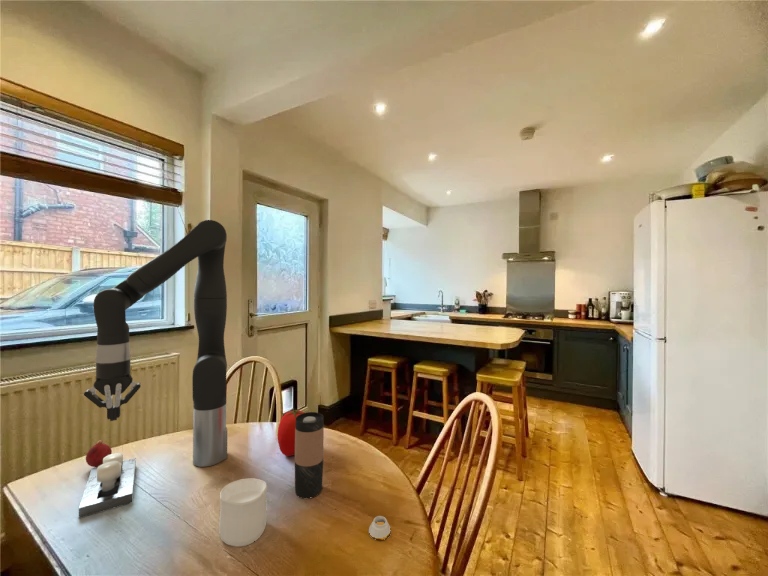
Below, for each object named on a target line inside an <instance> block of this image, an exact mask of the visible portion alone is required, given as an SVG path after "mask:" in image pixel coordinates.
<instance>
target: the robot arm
mask: <svg viewBox="0 0 768 576" xmlns="http://www.w3.org/2000/svg"><path fill="white" fill-rule="evenodd" d="M227 238H228V236H227V231H226V228H225V226H223V224H221V223H220V222H218V221H216V220H213V219H206V220H203V221H199V222H198V223H197V224H196V225H195V227H193V228H192V229H191V230H190V231H189V232H188V233H186V235H185V236H184V237H182V238H181V239H180V240H179V241H178V242H176V243H175V244H174V245H173V246H171V247H170V248H168V249H166V250H165V251H163V252H162V253H160V254H159V255H157V256H156V257H154V258H153V259H151V260H149V261H147V262H146V263H145V264H143V265H141V266H140V267H138V268H136V270H133V272H131V273H130V274H128V276H127V277H126V278H125V279H124V280H123V281H121V282H120V283H119V284H117V285H115V286H113V287H112V288H105V289H103V290H101V291H99V292H98V293H97V294H96V295H95V297H94V299H93V315H94V319H95V323H96V327H97V331H96V334H97V335H96V349H95V350H96V352H95V359H94V360H95V381H94V382H93V386H91V387H90V388H87V389H86V390H85V391H84V393H83V396H84V397H86V399H88V400H89V401H90V402H92V403H93V404H94V405H95V406H97V407H98V408H100V409H101V408H105V409H106V419H107V420H109V421H110V422H113V421H117V420H118V419H119V418H120V416H121V407H122V405H125V404H127V403H129V401H130V400H131V399H132V398H133V396H134V395H135V394H136V393H137V392H138V391H139V389H140V388H141V387H142V384H141V382H136V381H134V380H133V377H132V376H131V375H132V374H131V357H132V355H131V345H130V344H131V343H130V326H129V324H128V322H127V316H126V310H127V309H129V308H131V307H132V306H133V305H134V304H136V303H137V302H138V301H140V300H141V299H142V298H143V297H144V296H145V295H147V294H149V293H151V292H152V291H154V290H155V289H156V288H158V287H160V286H161V285H162V284H164V283H165V282H167V281H169V280H170V279H171V278H172V277H173V276H174V275H176V274H177V272H179V271H180V270H181V269H183V268H184V267H185V266H186V265H188V264H189V263H191V261H193V260H195V259H196V258H197V273H196V276H195V277H196V278H195V285H194V293H193V313H194V320H195V321H194V322H195V324H196V325H195V326H196V330H197V335H198V348H197V349H198V350H197V358H196V363H195V365H194V367H193V369H192V382H191V384H192V387H191V388H192V401H193V402H192V403H193V409H192V411H193V416H192V417H193V419H192V422H193V423H192V424H193V425H192V426H193V427H192V464H193V465H194V466H195V467H198V468H199V467H200V468H202V467H203V468H204V467H210V466H214V465H217V464H219V463H221V462H222V461H224V460H227V459H228V428H227V398H228V397H227V396H228V395H227V370H228V369H227V368H228V363H227V359H226V351H225V331H226V330H225V329H226V321H227V311H228V301H227V300H228V294H227V293H228V292H227V284H226V275H225V269H224V267H225V266H224V262H225V251H226V243H227ZM128 388H129V389H130V390H129V391H128V393H127V394H125V396H124V397H123V398H122V394H123V393H124V392H126V390H127V389H128ZM97 391H98V392H99V393H100V394H101V395H102V396H104V397H105V400H104V399H102V398H101V397H100V395H97ZM113 396H114V398H113ZM113 399H114V400H113Z"/></svg>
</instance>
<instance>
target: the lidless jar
mask: <svg viewBox="0 0 768 576" xmlns="http://www.w3.org/2000/svg"><path fill="white" fill-rule="evenodd" d="M377 522H384V524H383V525H378V524H376V523H377ZM390 528H391V526H390V524H389V522H388V520H387V518H386V517H384V516H382V515H377V516H375V517H374V518H373V521H372V522H371V523H370V525H369V527H368V534H369V533H370V535H371V536H372V537H375V538H383V537H386V536H387V535H388V534H389V533H390V531H391V532H392V530H390ZM370 535H369V536H370ZM371 536H370V537H371ZM372 537H371V538H372Z"/></svg>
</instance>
